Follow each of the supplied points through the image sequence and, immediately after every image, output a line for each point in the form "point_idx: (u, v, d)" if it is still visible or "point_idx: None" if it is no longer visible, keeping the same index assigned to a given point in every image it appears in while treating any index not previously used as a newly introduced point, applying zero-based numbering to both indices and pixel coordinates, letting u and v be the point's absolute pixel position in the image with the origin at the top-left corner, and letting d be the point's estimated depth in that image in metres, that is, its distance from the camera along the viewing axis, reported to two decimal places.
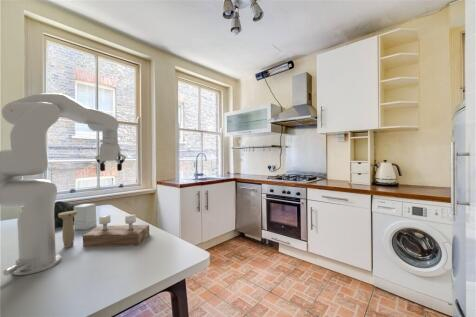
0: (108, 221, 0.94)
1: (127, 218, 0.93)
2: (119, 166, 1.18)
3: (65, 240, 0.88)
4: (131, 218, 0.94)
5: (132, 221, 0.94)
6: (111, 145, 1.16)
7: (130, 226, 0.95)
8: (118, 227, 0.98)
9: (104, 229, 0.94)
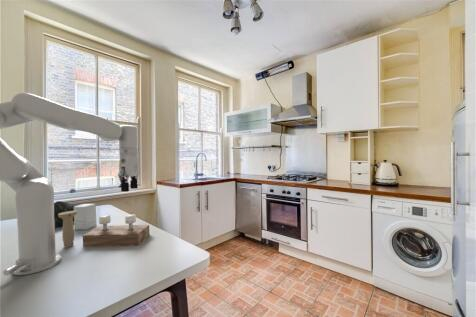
0: (108, 221, 0.94)
1: (127, 218, 0.93)
2: None
3: (65, 240, 0.88)
4: (131, 218, 0.94)
5: (132, 221, 0.94)
6: (136, 157, 0.97)
7: (130, 226, 0.95)
8: (118, 227, 0.98)
9: (104, 229, 0.94)
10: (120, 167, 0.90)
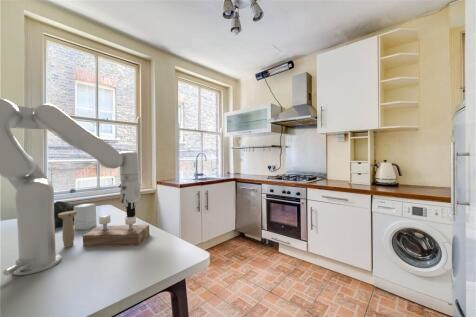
0: (108, 221, 0.94)
1: (127, 219, 0.93)
2: None
3: (65, 240, 0.88)
4: (131, 219, 0.94)
5: (132, 222, 0.94)
6: (137, 182, 0.97)
7: (130, 227, 0.95)
8: (118, 227, 0.98)
9: (104, 229, 0.94)
10: (121, 194, 0.90)
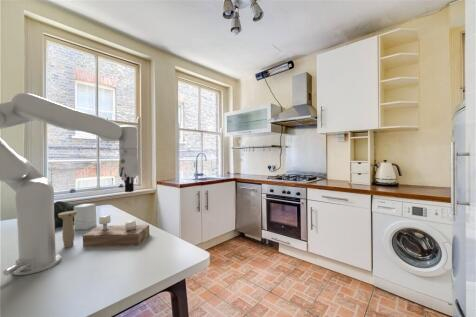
0: (108, 221, 0.94)
1: (127, 224, 0.93)
2: None
3: (65, 240, 0.88)
4: (131, 224, 0.94)
5: (132, 227, 0.94)
6: (136, 157, 0.97)
7: None
8: (118, 227, 0.98)
9: (104, 229, 0.94)
10: (120, 167, 0.90)
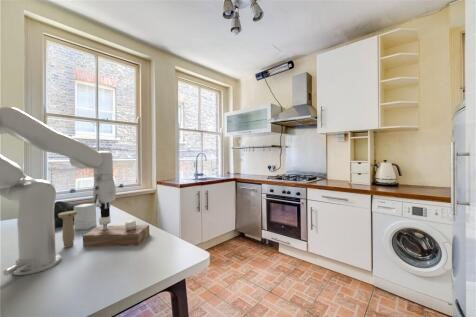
0: (108, 222, 0.94)
1: (127, 224, 0.93)
2: None
3: (65, 240, 0.88)
4: (131, 224, 0.94)
5: (132, 227, 0.94)
6: (112, 182, 0.97)
7: None
8: (118, 227, 0.98)
9: (104, 230, 0.94)
10: (94, 194, 0.90)
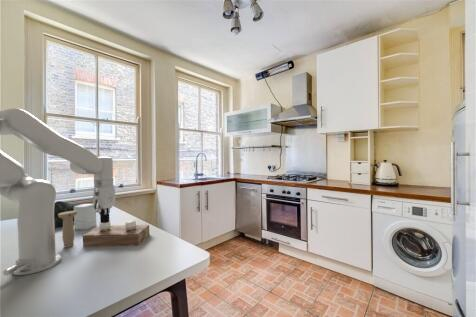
0: (108, 227, 0.94)
1: (127, 224, 0.93)
2: None
3: (65, 240, 0.88)
4: (131, 224, 0.94)
5: (132, 227, 0.94)
6: (112, 187, 0.97)
7: None
8: (118, 227, 0.98)
9: None
10: (94, 200, 0.90)
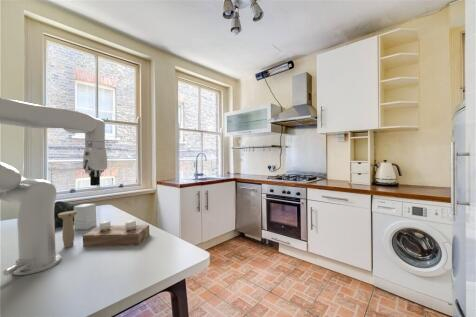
0: (108, 227, 0.94)
1: (127, 224, 0.93)
2: None
3: (65, 240, 0.88)
4: (131, 224, 0.94)
5: (132, 227, 0.94)
6: (104, 151, 0.96)
7: None
8: (118, 227, 0.98)
9: None
10: (84, 160, 0.89)
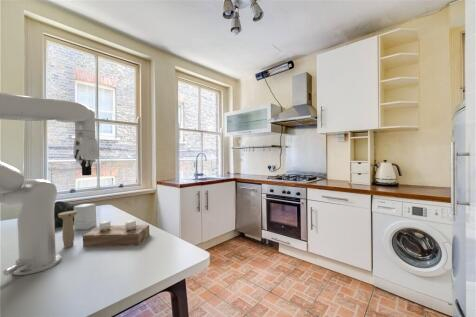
0: (108, 227, 0.94)
1: (127, 224, 0.93)
2: None
3: (65, 240, 0.88)
4: (131, 224, 0.94)
5: (132, 227, 0.94)
6: (94, 141, 0.95)
7: None
8: (118, 227, 0.98)
9: None
10: (74, 150, 0.88)
